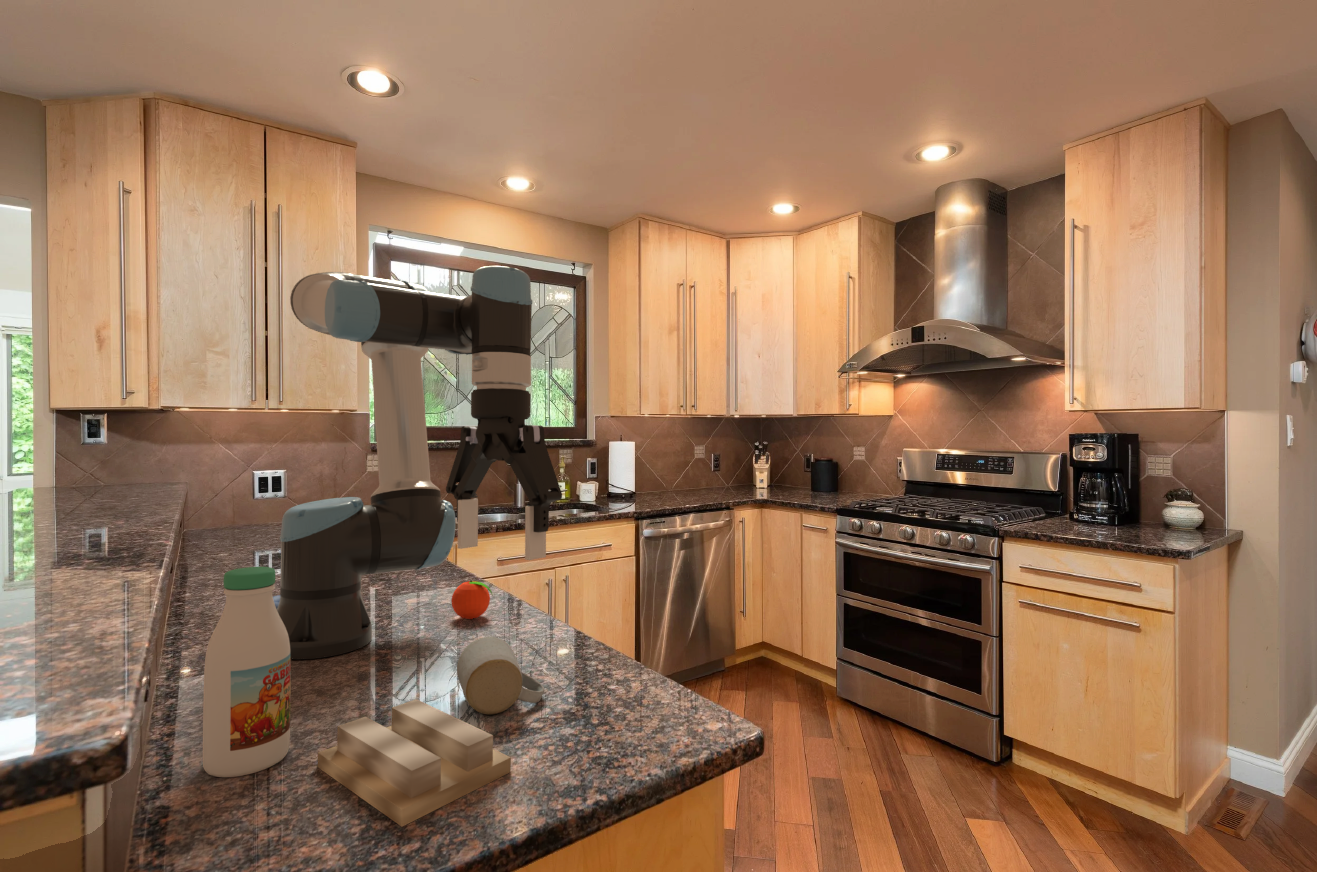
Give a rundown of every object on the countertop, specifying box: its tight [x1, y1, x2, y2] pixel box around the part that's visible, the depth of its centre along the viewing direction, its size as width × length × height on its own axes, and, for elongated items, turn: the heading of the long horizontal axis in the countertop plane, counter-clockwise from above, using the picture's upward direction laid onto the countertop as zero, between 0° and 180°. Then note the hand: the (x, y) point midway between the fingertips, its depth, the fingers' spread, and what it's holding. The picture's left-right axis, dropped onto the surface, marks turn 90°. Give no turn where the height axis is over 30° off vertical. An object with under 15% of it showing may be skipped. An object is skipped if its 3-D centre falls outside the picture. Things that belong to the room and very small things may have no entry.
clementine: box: [451, 580, 494, 620], centre depth 121 cm, size 8×7×7 cm
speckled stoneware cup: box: [456, 636, 545, 715], centre depth 83 cm, size 11×8×8 cm
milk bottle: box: [202, 566, 292, 778], centre depth 68 cm, size 8×8×20 cm
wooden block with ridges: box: [317, 699, 512, 828], centre depth 66 cm, size 16×12×4 cm
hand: (499, 552), depth 84 cm, fingers open, 13 cm apart
